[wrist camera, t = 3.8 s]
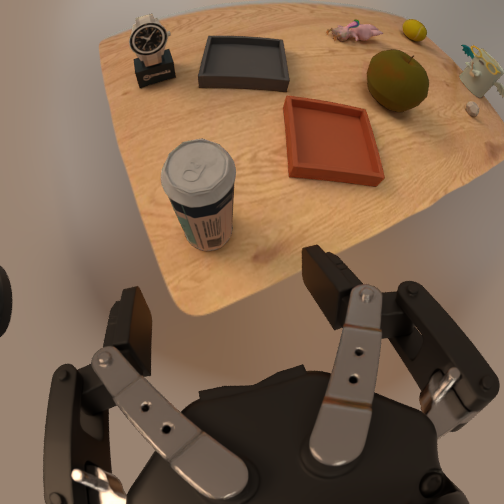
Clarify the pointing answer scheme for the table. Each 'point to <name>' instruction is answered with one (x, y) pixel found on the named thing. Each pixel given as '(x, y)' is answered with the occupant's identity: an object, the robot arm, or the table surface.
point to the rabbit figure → (355, 31)
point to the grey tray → (244, 63)
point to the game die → (472, 108)
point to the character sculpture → (481, 72)
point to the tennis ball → (414, 30)
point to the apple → (397, 80)
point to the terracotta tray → (330, 142)
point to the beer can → (201, 191)
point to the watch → (151, 51)
